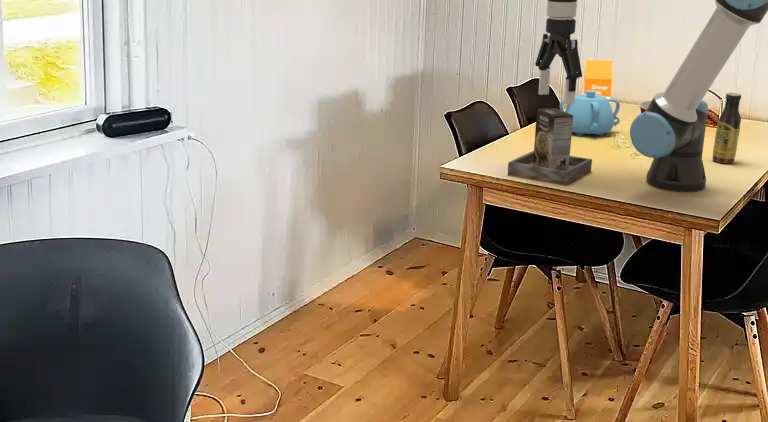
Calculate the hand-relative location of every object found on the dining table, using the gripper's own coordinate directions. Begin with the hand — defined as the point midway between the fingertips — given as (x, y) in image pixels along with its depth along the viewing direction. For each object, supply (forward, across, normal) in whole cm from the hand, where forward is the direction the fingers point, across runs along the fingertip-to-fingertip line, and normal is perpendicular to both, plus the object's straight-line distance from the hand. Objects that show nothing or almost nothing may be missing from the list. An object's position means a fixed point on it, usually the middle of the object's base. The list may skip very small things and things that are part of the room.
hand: (556, 98), depth 265 cm
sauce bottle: (+21, -3, -55) cm, 59 cm away
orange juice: (+20, +57, -49) cm, 78 cm away
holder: (+20, 0, 0) cm, 21 cm away
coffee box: (+20, 0, 0) cm, 20 cm away
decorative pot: (+21, +40, -36) cm, 58 cm away
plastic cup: (+21, +23, -49) cm, 58 cm away
